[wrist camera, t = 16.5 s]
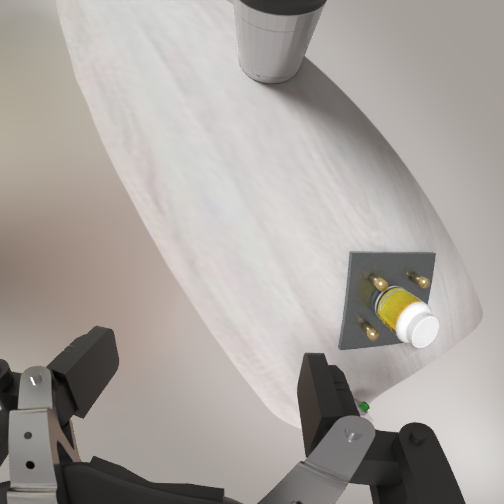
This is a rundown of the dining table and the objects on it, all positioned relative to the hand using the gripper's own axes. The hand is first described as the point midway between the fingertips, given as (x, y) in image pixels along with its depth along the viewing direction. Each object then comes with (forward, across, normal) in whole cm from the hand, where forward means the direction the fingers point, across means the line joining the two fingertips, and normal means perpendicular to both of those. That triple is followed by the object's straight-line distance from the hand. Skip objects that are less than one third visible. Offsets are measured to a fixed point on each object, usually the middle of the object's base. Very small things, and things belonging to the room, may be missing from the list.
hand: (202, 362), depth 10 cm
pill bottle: (+28, -24, +9) cm, 38 cm away
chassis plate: (+29, -24, +9) cm, 39 cm away
